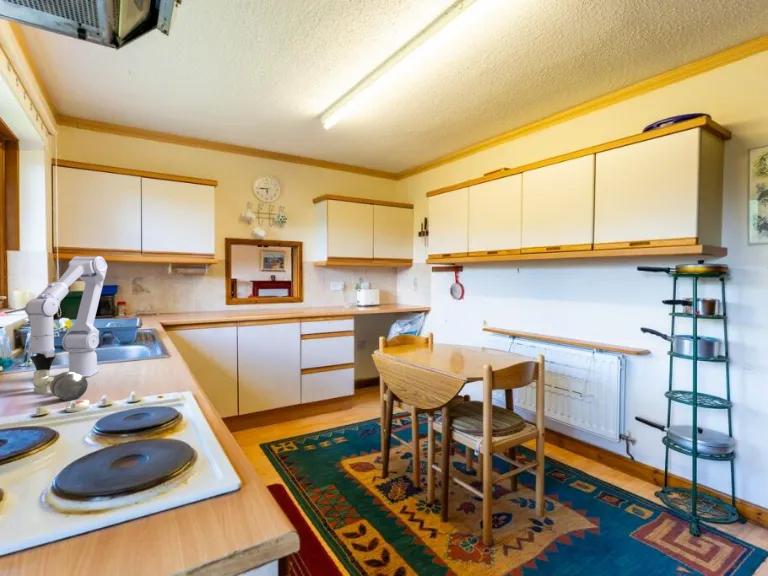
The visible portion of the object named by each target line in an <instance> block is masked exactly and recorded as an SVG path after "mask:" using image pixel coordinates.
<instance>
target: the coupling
mask: <svg viewBox="0 0 768 576" xmlns="http://www.w3.org/2000/svg"><path fill="white" fill-rule="evenodd" d="M88 384H89V383H88V381H87V377H83V376H82V375H79V374H76V373H74V372H69V371H64V372H61V373H59V374H57V375H55V376H54V379H53V380H52V382H51V384H50V390H49V391H50V392H51V394H52V395H53V396H54V397H56V398H59V399H61V400H63V401H69V402H72V401H76V400H79V399H80V398H81V397H82V396H83V395H84V394H85V393H86V391H87V390H88Z"/></svg>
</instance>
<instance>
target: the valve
mask: <svg viewBox="0 0 768 576" xmlns="http://www.w3.org/2000/svg"><path fill="white" fill-rule="evenodd" d="M50 374H51V373H50V371H49V370H38V371H37V370H35V371H34V372H33V380H32V385H33V386H34V388H33V394H43V393H47V392H49V391H50V384H51V382H52V380H53V379H54V378H55V376H50Z"/></svg>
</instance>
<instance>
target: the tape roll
mask: <svg viewBox="0 0 768 576" xmlns="http://www.w3.org/2000/svg"><path fill="white" fill-rule="evenodd" d="M74 401H75V402H76V404H77V405H80V406H82V407H77V408H73V409H70V408H67V407H69V406H70V402H71V401H69V402H66V404H65V411H66V412H67V413H75V412H82V411H85V410H88V409H89V408H90V400H89V399H76V400H74Z"/></svg>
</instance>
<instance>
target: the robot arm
mask: <svg viewBox="0 0 768 576" xmlns="http://www.w3.org/2000/svg"><path fill="white" fill-rule="evenodd" d="M107 269H108V264H107V262H106V260H105V258H104V257H103V256H101V255H100V256H74V257H72V259H70V261H68V268H67V269H66V271H65V272H64V273H63V274H62V275H61V277H60V278H59V279H58V280H57V281H53V282H49V283H48V284H47V285H46V286H47V287H45V288H44V289H43V291H42V292H41V293H40V294H39V295H37V297H36V298H31V299H30V300H29V301H28V302H26V304H25V307H24V308H23V309H24V312H25V314H26V316H27V318H28V319H27V320H28V321H29V322H30V323H29V325H30V326H29V327H30V349H26V351H25V352H26V353H27V354H30V353H31V354H36V355H31V356H30V357H29V358H30V359H31V361H32V363H33V364H34V367H35V371H38V370H49V372H50V370H51V368H52V363H53V361H54V360H55V358H56V354H55V350H56V348H55V336H54V334H55V333H54V332H55V331H54V330H55V329H54V315H55V314H57V313H58V311H59V307H60V304H61V303H62V300H63V299H64V298H65V297H66V296H67V295H68V294H69V287H70V286H71V285H72V284H74V283H75V282H76V281H77V280H78V279H80V280H81V281H82V282H84V283H85V284H84V289H83V292H82V296H81V300H80V304H79V308H78V313H77V314H76V320H75V323H74V324H72V325H71V326H70V327H68V328H67V330H66V333H65V334H64V336H63V337H62V341H61V346H62V348H63V349H64V350H66V351H65V352H66V353H68V372H74V373H76V374H79V375H82V376H83V377H85V378H88V377H91V376H93V375H95V374H97V373H100V372H101V369H98V355H97V353H96V348H98V346H99V343H100V338H99V335H100V330H98V328H96V327H95V326H94V323H95V319H96V314H97V311H98V307H99V302H100V299H101V295H102V290H103V287H104V282H105V281H104V280H105V279H106V275H107Z"/></svg>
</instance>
